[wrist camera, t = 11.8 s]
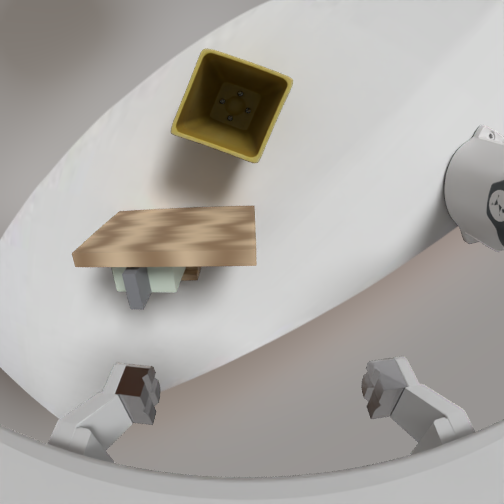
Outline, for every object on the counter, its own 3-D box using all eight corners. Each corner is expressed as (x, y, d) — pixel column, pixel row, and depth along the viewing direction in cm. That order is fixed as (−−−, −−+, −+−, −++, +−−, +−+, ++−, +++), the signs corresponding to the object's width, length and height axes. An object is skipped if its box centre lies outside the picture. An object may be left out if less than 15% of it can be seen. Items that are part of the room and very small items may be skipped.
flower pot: (256, 153, 35) (257, 165, 27) (187, 129, 34) (168, 133, 26) (284, 87, 32) (295, 79, 24) (214, 62, 30) (203, 46, 22)
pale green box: (182, 235, 35) (163, 274, 27) (186, 266, 37) (170, 310, 29) (128, 237, 35) (97, 273, 27) (134, 266, 37) (106, 308, 29)
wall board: (254, 205, 38) (256, 249, 26) (255, 259, 41) (257, 320, 29) (119, 211, 38) (71, 253, 26) (128, 261, 41) (90, 315, 29)
